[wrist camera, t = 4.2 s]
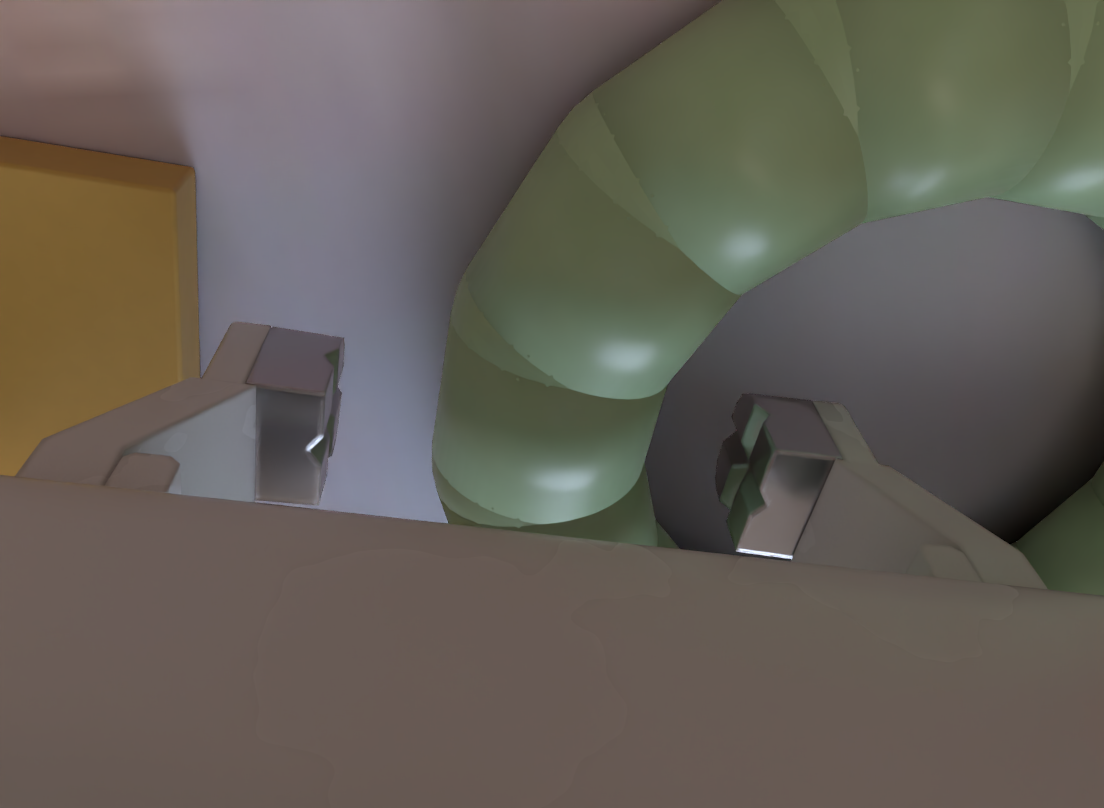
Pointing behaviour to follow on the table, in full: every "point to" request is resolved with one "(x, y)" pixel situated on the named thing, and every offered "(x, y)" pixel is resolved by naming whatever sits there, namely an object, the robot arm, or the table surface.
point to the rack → (90, 287)
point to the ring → (743, 230)
